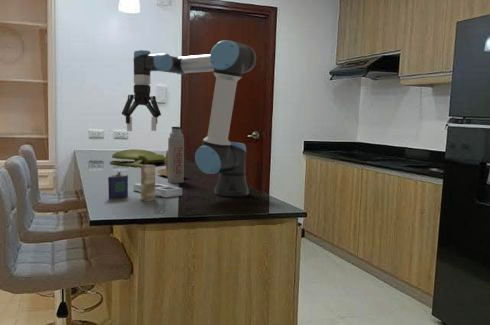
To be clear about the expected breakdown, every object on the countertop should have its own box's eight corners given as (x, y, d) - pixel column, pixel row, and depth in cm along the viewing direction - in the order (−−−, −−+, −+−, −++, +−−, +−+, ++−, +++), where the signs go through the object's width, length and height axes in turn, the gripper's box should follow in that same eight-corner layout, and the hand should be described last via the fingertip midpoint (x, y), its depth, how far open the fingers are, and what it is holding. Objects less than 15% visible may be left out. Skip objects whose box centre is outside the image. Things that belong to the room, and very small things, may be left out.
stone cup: (186, 178, 252) (187, 150, 250) (165, 178, 246) (166, 150, 244) (176, 174, 265) (176, 148, 263) (156, 175, 259) (156, 148, 258)
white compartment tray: (182, 195, 199) (182, 188, 199) (165, 197, 192) (166, 190, 192) (149, 188, 213) (149, 182, 213) (133, 190, 206) (133, 183, 206)
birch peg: (155, 199, 187) (155, 165, 185) (146, 201, 184) (147, 166, 182) (148, 198, 189) (149, 164, 188) (140, 199, 186) (141, 165, 185)
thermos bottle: (184, 182, 234) (185, 127, 231) (168, 182, 232) (169, 126, 229) (182, 180, 242) (183, 126, 239) (166, 180, 240) (167, 126, 237)
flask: (125, 195, 194) (125, 170, 192) (129, 196, 192) (130, 171, 191) (106, 198, 186) (107, 172, 185) (111, 199, 184) (111, 172, 183)
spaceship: (173, 165, 314) (173, 150, 313) (140, 168, 288) (140, 153, 287) (135, 160, 332) (136, 147, 331) (101, 163, 306) (101, 149, 305)
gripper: (158, 86, 225) (158, 130, 227) (113, 83, 207) (113, 130, 209) (168, 86, 220) (168, 131, 222) (123, 82, 202) (123, 131, 204)
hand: (141, 131), depth 215 cm, fingers open, 13 cm apart
